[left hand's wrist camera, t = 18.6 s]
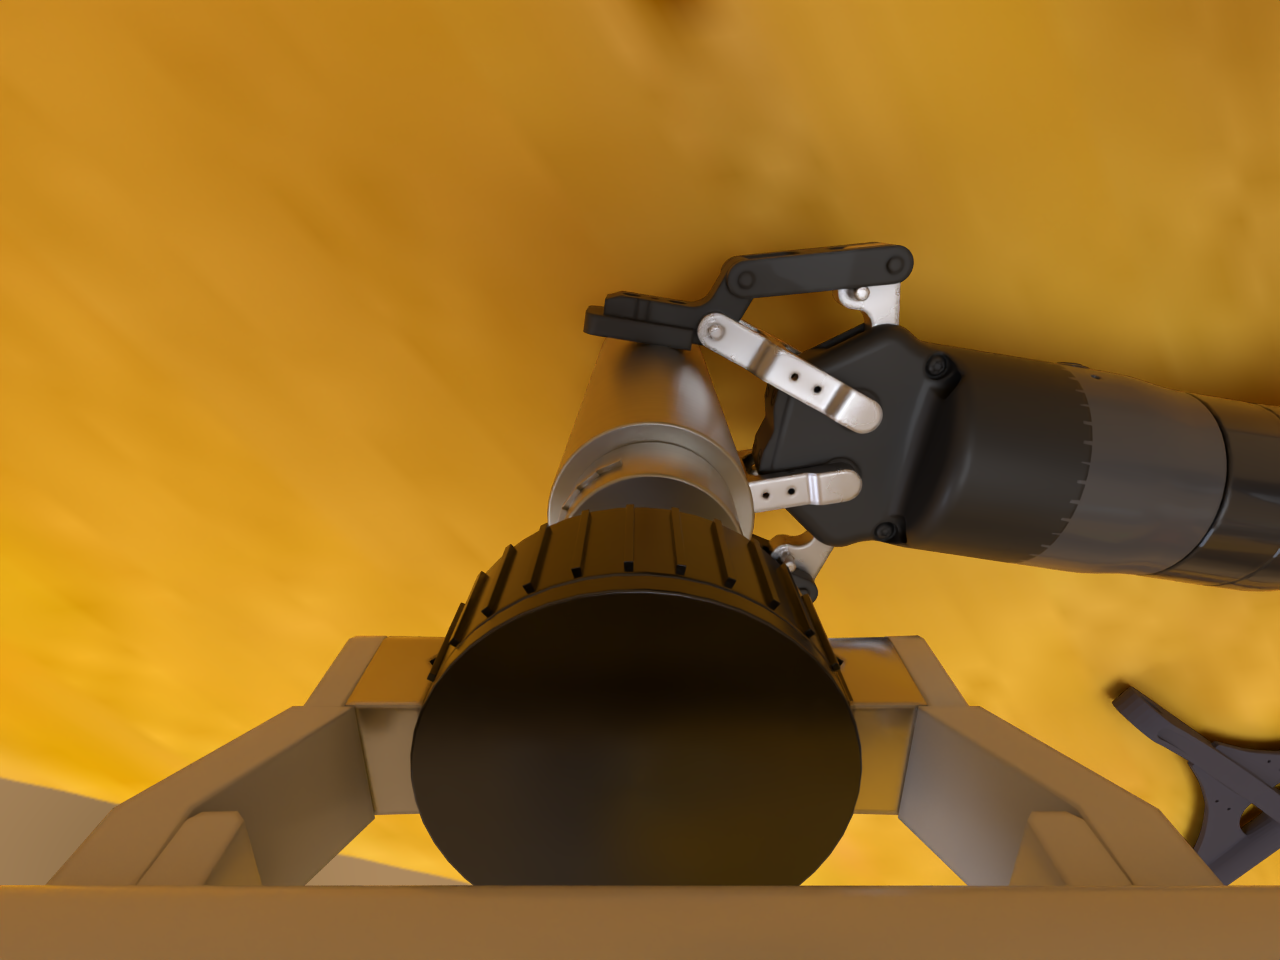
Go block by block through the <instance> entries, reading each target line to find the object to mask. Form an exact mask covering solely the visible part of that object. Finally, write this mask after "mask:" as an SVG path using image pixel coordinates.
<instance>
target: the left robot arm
mask: <svg viewBox="0 0 1280 960" xmlns="http://www.w3.org/2000/svg"><path fill="white" fill-rule="evenodd" d="M444 639H445V637H411V636H389V637H387V636H355V637H353V638H350V639H349V640H348V641H347V643H346V644H345V646H344V647H343V648H342V650H341V651H340V653H339V654H338V656H337V657H336V659H335V660H334V662H333V663H332V665H331V666H330V668H329V669H328V671H327V672H326V674H325V675H324V676H323V678H322V679H321V681H320V682H319V684H318V685H317V687H316V688H315V690H314V691H313V693H312V694H311V696H310V697H309V699H308V700H307V702H306V703H305V704H304V706H292V707H291V708H289V709H287V710H285V711H284V712H282V713H280V714H278V715H277V716H275V717H273V718H271V719H269V720H268V721H266V722H264V723H262V724H261V725H259V726H257V727H255V728H254V729H252V730H250V731H248V732H247V733H245V734H243V735H241V736H239V737H238V738H236V739H234V740H232V741H231V742H229V743H227V744H225V745H224V746H222V747H220V748H218V749H217V750H215V751H213V752H211V753H209V754H208V755H206V756H204V757H202V758H201V759H199V760H197V761H195V762H194V763H192V764H190V765H188V766H187V767H185V768H183V769H181V770H180V771H178V772H176V773H174V774H172V775H171V776H169V777H167V778H165V779H164V780H162V781H160V782H158V783H157V784H155V785H153V786H151V787H150V788H148V789H146V790H144V791H142V792H141V793H139V794H137V795H135V796H134V797H132V798H130V799H128V800H127V801H125V802H123V803H121V804H120V805H118V806H116V807H114V808H113V809H112V810H111V811H110V812H109V813H108V814H107V816H106V817H105V818H104V819H103V820H102V821H101V822H100V824H99V825H98V826H97V827H96V828H95V829H94V830H93V832H92V833H91V834H90V835H89V836H88V837H87V839H85V841H84V842H83V843H82V844H81V845H80V846H79V847H78V849H77V850H76V851H75V852H74V853H73V854H72V856H71V857H70V858H69V859H68V860H67V861H66V862H65V863H64V865H63V866H62V867H61V868H60V869H59V870H58V871H57V873H56V874H55V875H54V876H53V877H52V878H51V879H50V880H49V882H48V883H47V884H46V885H0V960H1280V886H1224V884H1223V883H1222V882H1221V881H1220V880H1219V879H1218V877H1217V876H1216V875H1215V874H1214V873H1213V872H1212V870H1211V869H1210V868H1209V867H1208V866H1207V865H1206V863H1205V862H1204V861H1203V860H1202V859H1201V858H1200V856H1199V855H1198V854H1197V853H1196V852H1195V851H1194V849H1193V848H1192V847H1191V846H1190V845H1189V844H1188V842H1187V841H1186V840H1185V839H1184V838H1183V837H1182V835H1181V834H1180V833H1179V832H1178V831H1177V830H1176V828H1175V827H1174V826H1173V825H1172V824H1171V823H1170V822H1169V820H1168V819H1167V818H1166V817H1165V816H1164V815H1163V813H1162V812H1161V811H1160V810H1159V809H1158V808H1156V807H1154V806H1152V805H1151V804H1149V803H1147V802H1145V801H1144V800H1142V799H1140V798H1138V797H1137V796H1135V795H1133V794H1131V793H1130V792H1128V791H1126V790H1125V789H1123V788H1121V787H1119V786H1118V785H1116V784H1114V783H1112V782H1111V781H1109V780H1107V779H1105V778H1104V777H1102V776H1100V775H1098V774H1097V773H1095V772H1093V771H1091V770H1090V769H1088V768H1086V767H1084V766H1083V765H1081V764H1079V763H1078V762H1076V761H1074V760H1072V759H1071V758H1069V757H1067V756H1065V755H1064V754H1062V753H1060V752H1058V751H1057V750H1055V749H1053V748H1051V747H1050V746H1048V745H1046V744H1044V743H1043V742H1041V741H1039V740H1037V739H1036V738H1034V737H1032V736H1031V735H1029V734H1027V733H1025V732H1024V731H1022V730H1020V729H1018V728H1017V727H1015V726H1013V725H1011V724H1010V723H1008V722H1006V721H1004V720H1003V719H1001V718H999V717H997V716H996V715H994V714H992V713H990V712H989V711H987V710H985V709H984V708H982V707H980V706H969V705H968V704H967V702H966V701H965V699H964V698H963V696H962V695H961V693H960V692H959V690H958V689H957V687H956V686H955V684H954V683H953V681H952V680H951V678H950V677H949V675H948V674H947V673H946V671H945V670H944V668H943V667H942V665H941V664H940V662H939V661H938V659H937V658H936V656H935V655H934V653H933V652H932V650H931V649H930V647H929V646H928V644H927V643H926V641H925V640H924V639H923V638H922V637H920V636H918V635H916V636H887V637H867V638H828V640H829V642H830V644H831V647H832V649H833V651H834V654H835V656H836V658H837V661H838V663H839V665H840V667H841V669H840V670H841V673H842V675H843V677H844V680H845V682H846V684H847V687H848V689H849V691H850V694H851V696H852V698H853V701H850V700H849V698H848V696H847V693H846V691H845V689H844V686H843V684H842V681H841V679H840V677H839V674H838V672H836V673H837V675H838V677H839V679H840V682H841V684H842V686H843V689H844V691H845V693H846V696H847V698H848V700H849V706H850V708H851V710H852V713H853V715H854V718H855V720H856V723H857V728H858V732H859V737H860V741H861V749H862V776H861V784H860V792H859V796H858V799H857V802H856V806H855V809H854V813H853V814H886V815H898V818H899V819H900V820H901V821H902V822H903V823H904V824H905V825H906V826H907V827H908V828H909V829H910V830H911V831H912V832H913V833H914V834H915V835H916V836H917V837H918V838H919V839H920V840H921V841H922V842H923V843H925V844H926V845H927V846H928V847H929V848H930V849H931V850H932V851H933V852H934V853H935V854H936V855H937V856H938V857H939V858H940V859H941V860H942V861H943V862H944V863H945V864H946V865H947V866H948V867H949V868H950V869H951V870H952V871H953V872H954V873H955V874H957V875H958V876H959V877H960V878H961V879H962V880H963V881H964V882H965V883H966V884H967V885H968V886H605V885H464V886H462V885H459V886H457V885H456V886H305V885H306V884H307V883H308V882H309V881H310V880H311V879H312V878H313V877H314V876H315V875H316V874H317V873H318V872H319V871H320V870H321V869H322V868H323V867H324V866H326V865H327V864H328V863H329V862H330V861H331V860H332V859H333V858H334V857H335V856H336V855H337V854H338V853H339V852H340V851H341V850H342V849H343V848H344V847H345V846H346V845H347V844H349V843H350V842H351V841H352V840H353V839H354V838H355V837H356V836H357V835H358V834H359V833H360V832H361V831H362V830H363V829H364V828H365V827H366V826H367V825H368V824H369V823H370V822H372V821H373V820H374V819H375V816H374V815H386V814H420V813H419V810H418V808H417V805H416V802H415V798H414V792H413V787H412V782H411V771H410V751H411V745H412V738H413V732H414V728H415V725H416V722H417V719H418V716H419V713H420V710H421V707H422V705H423V703H424V700H425V698H426V696H427V693H428V691H429V689H430V687H431V684H432V681H429V680H427V677H428V675H429V672H430V670H431V668H432V666H433V663H434V661H435V659H436V657H437V655H438V652H439V650H440V648H441V646H442V643H443V641H444Z"/></svg>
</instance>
